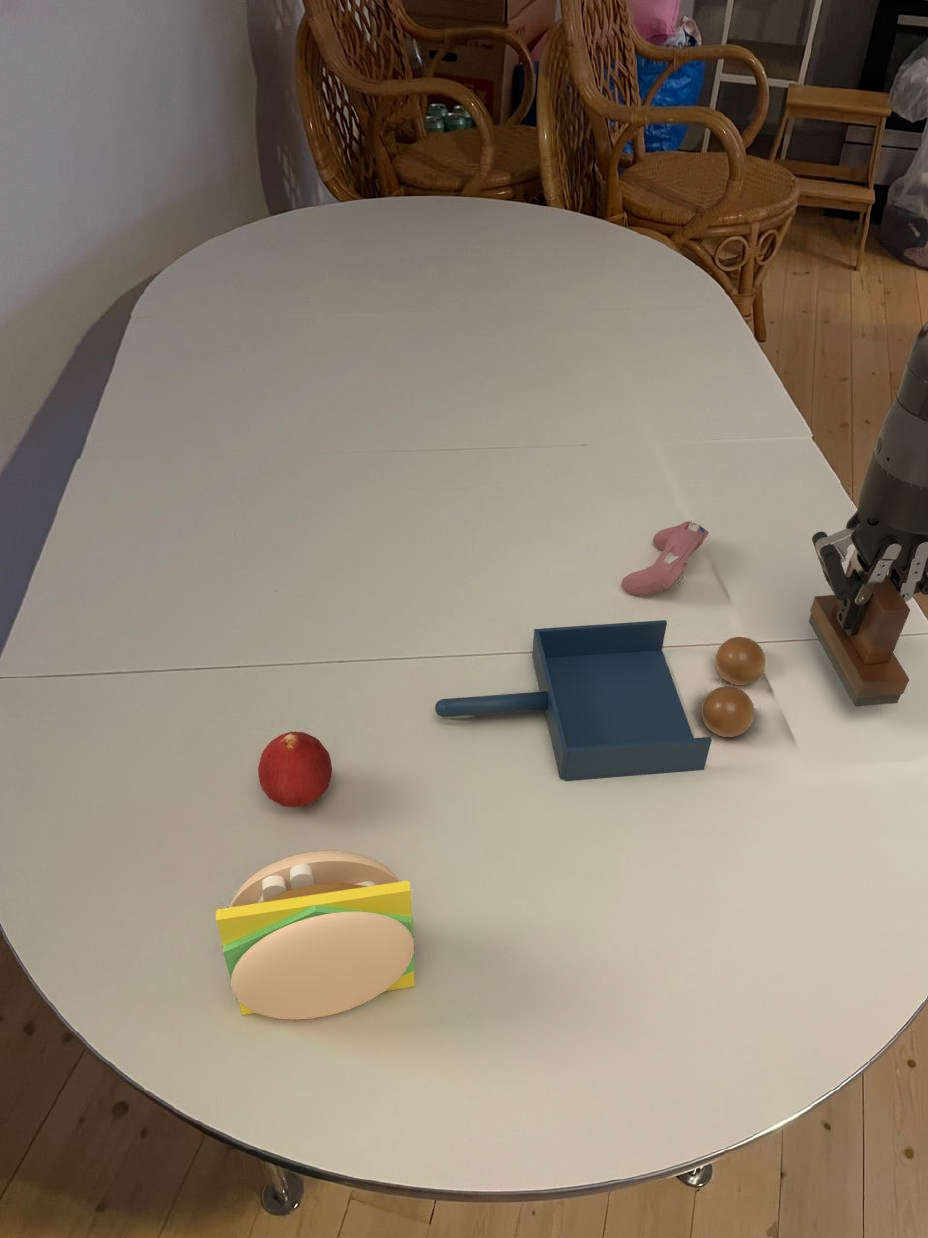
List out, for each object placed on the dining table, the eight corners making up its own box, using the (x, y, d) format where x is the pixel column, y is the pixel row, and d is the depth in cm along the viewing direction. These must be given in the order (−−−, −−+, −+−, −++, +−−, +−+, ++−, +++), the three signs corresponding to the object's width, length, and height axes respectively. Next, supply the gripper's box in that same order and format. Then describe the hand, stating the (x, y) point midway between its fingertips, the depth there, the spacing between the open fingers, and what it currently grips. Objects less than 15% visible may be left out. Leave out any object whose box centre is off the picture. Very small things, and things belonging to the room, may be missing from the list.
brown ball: (751, 659, 98) (760, 625, 95) (766, 693, 95) (776, 658, 92) (705, 662, 98) (713, 628, 95) (719, 696, 95) (728, 662, 92)
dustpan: (660, 649, 99) (666, 619, 97) (704, 770, 88) (711, 740, 86) (428, 665, 97) (427, 635, 95) (443, 791, 86) (443, 761, 84)
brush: (848, 617, 96) (875, 540, 90) (899, 704, 88) (932, 625, 82) (806, 620, 96) (831, 543, 90) (853, 707, 88) (884, 629, 82)
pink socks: (649, 617, 105) (689, 580, 99) (614, 588, 105) (652, 549, 100) (685, 563, 111) (724, 526, 106) (652, 536, 111) (689, 497, 106)
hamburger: (402, 912, 78) (397, 813, 70) (419, 1016, 72) (416, 921, 64) (239, 937, 76) (215, 839, 68) (242, 1046, 70) (216, 953, 62)
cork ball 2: (739, 708, 94) (749, 673, 91) (755, 745, 90) (765, 711, 87) (692, 712, 93) (700, 677, 90) (705, 749, 90) (714, 714, 87)
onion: (273, 768, 88) (262, 703, 83) (341, 774, 88) (334, 709, 82) (256, 824, 84) (243, 759, 78) (327, 831, 83) (319, 766, 78)
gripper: (858, 490, 74) (801, 664, 86) (1040, 480, 76) (960, 652, 87) (819, 434, 80) (771, 604, 91) (990, 425, 81) (921, 594, 93)
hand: (864, 627), depth 89 cm, fingers closed on brush, 2 cm apart
